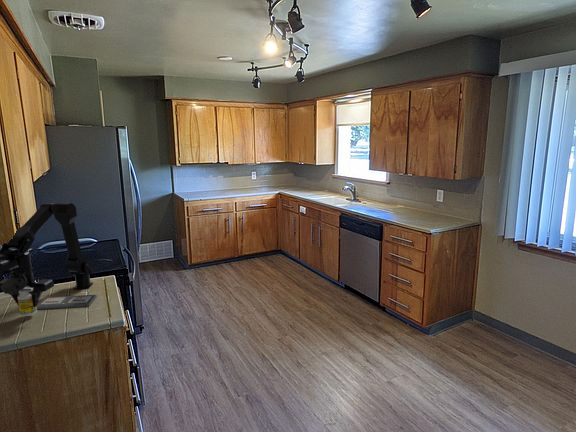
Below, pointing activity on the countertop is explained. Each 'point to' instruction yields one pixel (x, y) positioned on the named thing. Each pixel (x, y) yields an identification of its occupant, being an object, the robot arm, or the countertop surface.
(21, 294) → the supplement bottle
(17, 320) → the countertop surface
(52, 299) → the panel
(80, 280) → the robot arm
